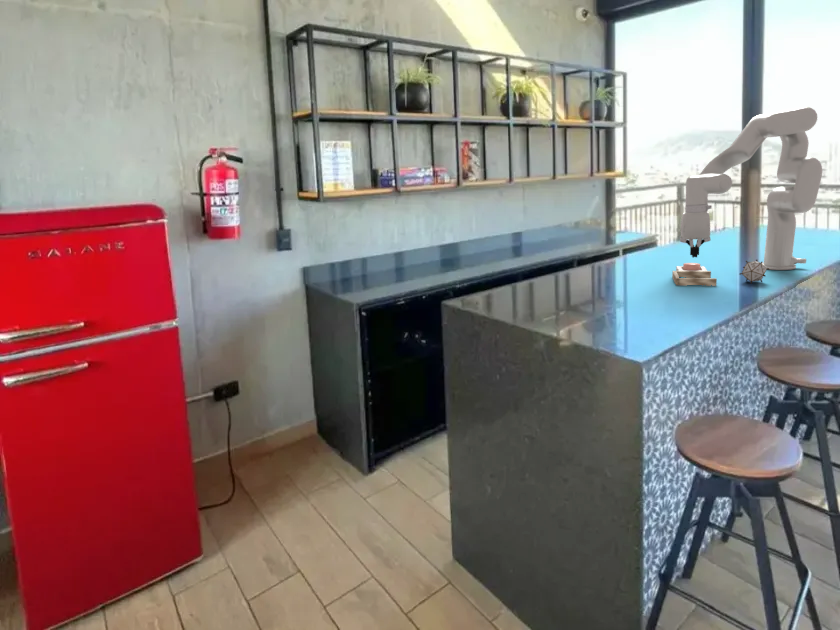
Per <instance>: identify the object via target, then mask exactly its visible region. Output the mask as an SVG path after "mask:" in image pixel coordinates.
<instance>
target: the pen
mask: <svg viewBox="0 0 840 630" xmlns="http://www.w3.org/2000/svg"><path fill="white" fill-rule="evenodd" d="M711 276H712V271H711V270H707V271H676V270H672V274H671V277H672V280H673V282H674V285H675V284H676V285H675V286H687V285H702V287H717V281H718V280H717V278H711ZM679 277H684V278H679ZM685 277H686V278H685ZM703 285H704V286H703ZM705 285H706V286H705ZM711 285H712V286H711Z"/></svg>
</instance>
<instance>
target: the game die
mask: <svg viewBox="0 0 840 630" xmlns="http://www.w3.org/2000/svg"><path fill="white" fill-rule="evenodd" d="M758 260H759V259H755V261H748V260H745V266H742V268H743V269H742V271H741V272H740V273H739V275H740V276H741V275H742V276H743V277H744V278H745V281H747V282H748V281H749V282H750V284H752V283H753V282H759V281H760V282H761V283H763V280H762V279H763V278H764V277H766V274H765V273H766V272H767V270H768V271H769V270H770V269H769V268H767V269H766V268H765V267H764V266H763V265H762V264H761V263H764V261H758Z"/></svg>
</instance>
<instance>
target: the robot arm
mask: <svg viewBox="0 0 840 630" xmlns="http://www.w3.org/2000/svg"><path fill="white" fill-rule="evenodd" d="M817 122H818V114H817V112H816V110H815V109H814V108H812V107H809V106H804V107H795V108H787V109H782V110H779V111H777V112H770V113H762V114H757V115H756V116H753V117H752V118H751V119H750V120H749V121H748V123H746V125H745V127H744V128H743V129H742V131H741V132H740V133H739V134H738V136H737V137H736V138H735V140H734V141H733V142H732V143H731V144H730V145H729V147H727V148H725V149H724V150H723V151H722V152H720V153H719V154H718V155H717V156H715V157H714V158H713V159H712V160H710V161H709V163H707V164H706V165H705V167H704V169H702V170H701V172H700V173H699V175H691V176H688V177H687V178H686V181H685V204H684V205H685V208H684V209H685V210H684V212H683V213H682V215H681V221H680V238H679V242H680V243H684V244H687V245H688V246H689V247H690V248H689V251H690V252H689V255H690V256H691V257H692V258H698V256H699V255H700V247H701V246H702V245H703V244H704V243H707V242H710V241H712V240H711V218H710V217H711V216H710V212H709V211H708V210H712V204H711V205H709V204H708V200H709V199H708V197H709V195H710V194H712V195H721V194H725V193H727V192H729V190H731V188H732V186H733V180H732V178H731V176H729V175H728V174H725V173H726V172H727V171H729V170H731V168H733V167H736V166H739V165H741V164H743V163H745V162H747V161H749V160H750V159H751V158H752V157H753V156H754V154H755V153H756V152H757V151H758V149H759V148H760V147H761V146H762V144H763V143H764V142H765V141H766V139H767V138H776V137H779V138H780V140H781V150H780V151H781V152H780V157H779V162H778V166H777V170H776V177H777V179H778V181H780V182H781V183H785V184H794V186H777V187H775V188H774V189H772V190H771V191H770V192H769V193H768V195H767V197H766V209H767V223H766V224H767V226H766V227H767V228H766V236H765V245H764V246H765V247H764V256H763V263H761V262H760V263H761V264H762V265H763V266H764V267H765V268H766V269H767V268H769V270H771V271H772V270H774V271H787V270H788V271H789V270H794V269H796V268H797V265H796V264H806V263H807V258H798V257H795V256H793V255H794V243H795V237H796V235H795V234H796V227H797V220H796V216H795V215H796V214H805V213H808V212H809V211H810V210H811V209H813V207H814V206H815V204H816V201H817V198H818V193H819V189H820V185H821V181H822V176H823V165H822V164H821V163H822V162H820V160H818V158H816V157H814V156H813V157H812V156H808V151H809V137H808V136H807V135H808V134H807V133H806V132H807V131H809V130H812V129H813V127H814V126H816V124H817ZM795 213H796V214H795ZM694 240H696V243H695V245H694Z"/></svg>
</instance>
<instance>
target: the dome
mask: <svg viewBox="0 0 840 630" xmlns="http://www.w3.org/2000/svg"><path fill="white" fill-rule="evenodd" d="M682 266H683V270H700V266H701V264H700V263H697V262H684V263H683V265H682Z"/></svg>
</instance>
